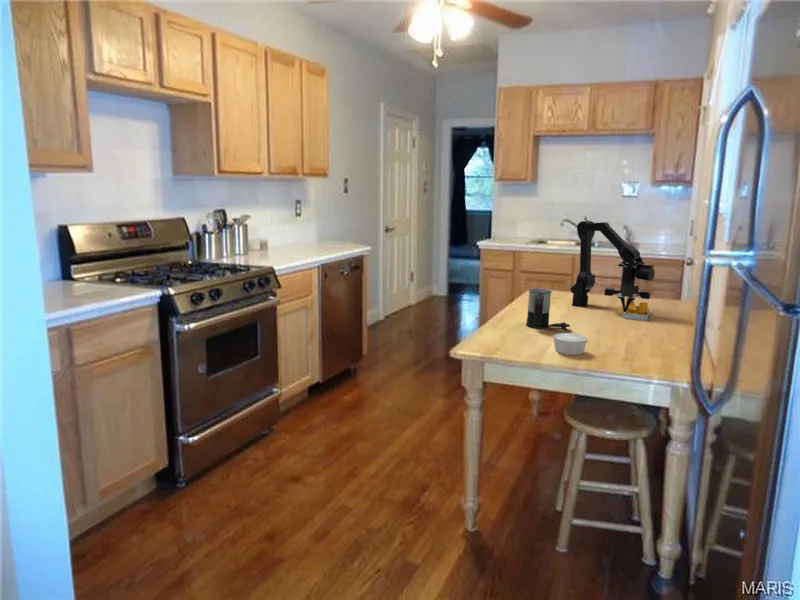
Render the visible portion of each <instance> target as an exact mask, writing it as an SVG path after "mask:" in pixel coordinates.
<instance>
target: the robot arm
mask: <svg viewBox="0 0 800 600" xmlns="http://www.w3.org/2000/svg"><path fill="white" fill-rule="evenodd" d="M576 230H577V231H576V232H577V236H578V238H579V240H580V245H579V246H580V250H579V251H580V253H579V254H580V255H579V257H580V258H579V259H580V260H579V273H578V274H577V277H576V280H575V284H574V285H572V286H571V287H570V292H571V293H572V303H571V306H573V307H582V306H583V307H585V308H586V307H587V306H588V304H589V303H588V302H589V295H588V293H590V291H591V289H592V288H594V285H595V284H596V274H593V273H592V271H591V270H592V268H591V266H592V241H593V238H594V236H595V233H596V232H600V233H601V234H602V235H603V236H604V237H605V239H607V240H608V241H609V242H610V244H612V246H613V247H614V248H615V249H616V250H617V253H618V255H619V257H620V259H621V260H622V261H621V262H620V263H619V264H617V266H618V267H622V269H621V272H622V273H621V279H620V289H615V287H607V286H606V287H605V288H604V293H603V294H604V296H609V297H612V296H613V295H617V299H619V300H620V302H621V307H622V306H623V311H624V312H626V311H627V308H628V306H629V304H630V303H631V301H632V300H634V301H636V297H640V298H641V299H643V300H650V297H651V293H650V291H649V290H641V289H640V288H639V287H640V286H638V285H635V284H636V279H638V280H640V281H641V280H642V281H649V282H652V281H653V280H654V278H655V274H656V272H655V268H654V264H645V263H644V260H643V258H642V257H641V253H640V251H639V250H638V249H637V248H636V247H634V246H632V245H631V244H628V242H626V241H625V240H624V239H623V238H622V237H621V235H619V234H618V233H617V232H616V231H615V229H614V228H613V227H611V226H610V224H609V223H608V222H605V221H601V222H594V221H592V220H581V221H580V222H579V223H577V227H576ZM625 297H626V298H627V302H626V298H625ZM625 305H626V306H625ZM624 312H623V313H624Z"/></svg>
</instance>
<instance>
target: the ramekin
mask: <svg viewBox="0 0 800 600" xmlns="http://www.w3.org/2000/svg"><path fill="white" fill-rule="evenodd" d="M552 339H553V343H554V350H555V352H557V353H558V354H561V355H566V356H580V355H582V354H583V353H584V352H585V348H586V344H587V343H588V338H587V337H586V336H584V335H581V334H576V333H569V332H568V333H566V332H565V333H557V334H554V335H553V338H552Z"/></svg>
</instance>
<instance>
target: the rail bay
mask: <svg viewBox="0 0 800 600" xmlns="http://www.w3.org/2000/svg"><path fill="white" fill-rule="evenodd" d="M635 307H636V308H637V309H638V307H639V305H635ZM649 309H650V308H649V306H647V315H644V314H634V313H624V312H622V316H621V317H622V319H624V320H632V319H633V321H635V320H636V321H642V320H644V322H650V320H651V313H650V310H649Z"/></svg>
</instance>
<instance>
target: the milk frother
mask: <svg viewBox="0 0 800 600" xmlns="http://www.w3.org/2000/svg"><path fill="white" fill-rule="evenodd" d="M552 292H553V291H552V290H551V289H545V288H529V289H528V302H527V303H528V304H527V317H526V323H525V325H526V327H529V328H534V329H548V328H549V327H552V328H560V329H561V330H567V328H570V327H571V324H569V323H566V322H559V323H552V324H551V323H550V321H549V320H550V310H551V308H550V307H551V298H552V297H551V296H552V295H551V294H552ZM549 323H550V324H549Z"/></svg>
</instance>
